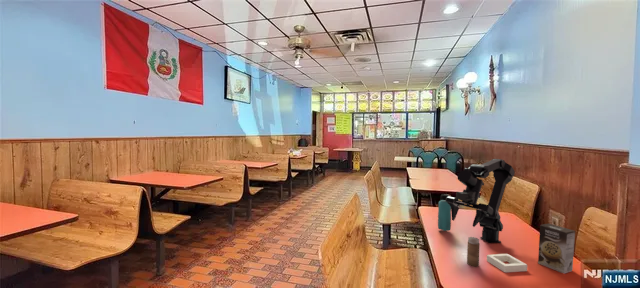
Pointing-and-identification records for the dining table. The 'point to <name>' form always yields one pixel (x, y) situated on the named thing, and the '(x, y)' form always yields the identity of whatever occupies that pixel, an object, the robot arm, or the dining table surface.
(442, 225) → the beverage bottle
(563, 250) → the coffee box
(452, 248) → the dining table surface
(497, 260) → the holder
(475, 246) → the pepper mill
